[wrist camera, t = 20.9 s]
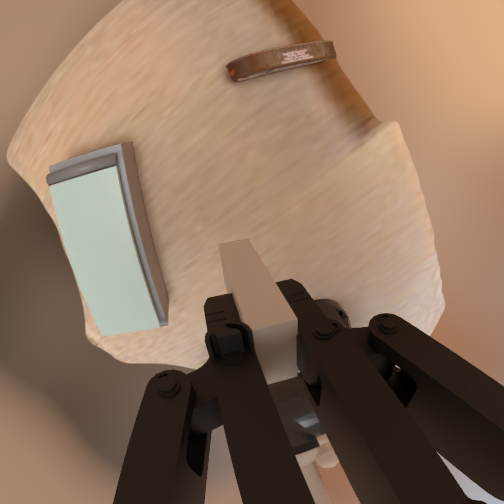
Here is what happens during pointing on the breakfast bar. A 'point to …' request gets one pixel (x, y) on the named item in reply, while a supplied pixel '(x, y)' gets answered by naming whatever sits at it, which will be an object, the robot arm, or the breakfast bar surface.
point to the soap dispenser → (325, 453)
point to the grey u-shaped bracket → (133, 219)
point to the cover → (102, 246)
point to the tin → (280, 59)
